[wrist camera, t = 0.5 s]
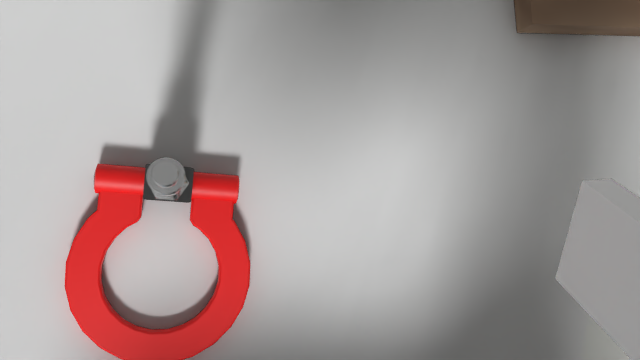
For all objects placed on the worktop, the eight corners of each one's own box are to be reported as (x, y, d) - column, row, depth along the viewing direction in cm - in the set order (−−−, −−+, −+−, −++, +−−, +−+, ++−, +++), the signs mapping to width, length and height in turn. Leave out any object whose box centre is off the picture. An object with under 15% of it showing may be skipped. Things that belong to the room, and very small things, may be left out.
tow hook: (240, 358, 28) (255, 176, 29) (292, 484, 16) (316, 158, 16) (60, 357, 26) (79, 160, 27) (-43, 501, 14) (-3, 127, 14)
